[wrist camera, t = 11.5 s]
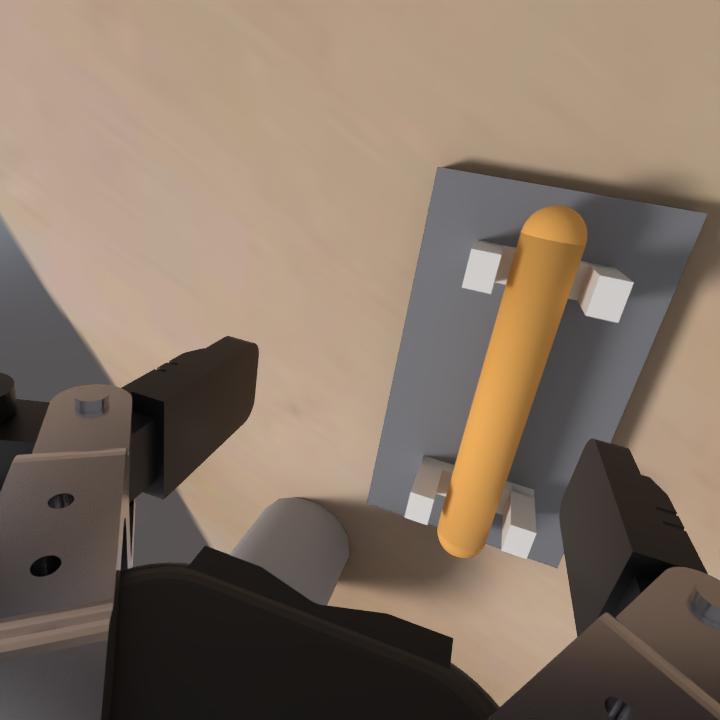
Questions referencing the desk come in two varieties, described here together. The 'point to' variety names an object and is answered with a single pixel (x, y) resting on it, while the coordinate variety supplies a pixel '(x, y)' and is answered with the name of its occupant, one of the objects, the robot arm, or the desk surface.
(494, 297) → the board
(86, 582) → the robot arm
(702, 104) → the desk surface
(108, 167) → the desk surface
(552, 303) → the orange rod
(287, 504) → the cup
